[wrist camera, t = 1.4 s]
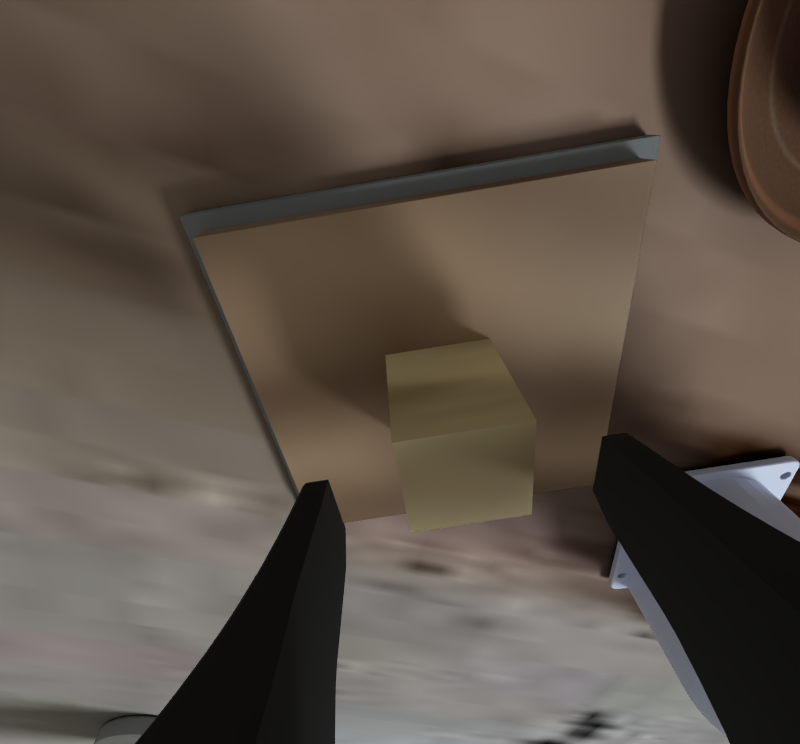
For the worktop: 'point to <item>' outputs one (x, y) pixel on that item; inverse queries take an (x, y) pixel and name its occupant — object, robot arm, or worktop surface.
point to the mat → (401, 189)
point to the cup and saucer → (768, 111)
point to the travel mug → (124, 730)
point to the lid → (440, 338)
